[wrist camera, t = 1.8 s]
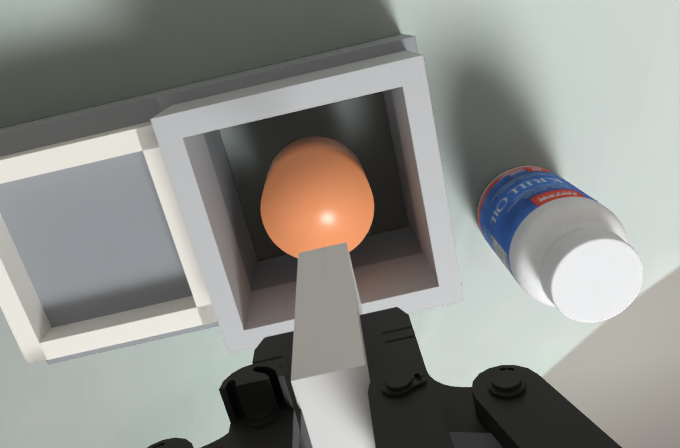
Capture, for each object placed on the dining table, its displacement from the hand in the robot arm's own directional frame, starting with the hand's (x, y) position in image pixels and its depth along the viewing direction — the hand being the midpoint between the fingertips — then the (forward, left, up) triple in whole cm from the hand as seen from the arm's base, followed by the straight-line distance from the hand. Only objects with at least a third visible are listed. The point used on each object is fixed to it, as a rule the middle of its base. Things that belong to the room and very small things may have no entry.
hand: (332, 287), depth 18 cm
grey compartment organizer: (-5, 0, -15) cm, 16 cm away
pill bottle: (+11, -5, -15) cm, 19 cm away
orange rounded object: (0, 0, -12) cm, 12 cm away
